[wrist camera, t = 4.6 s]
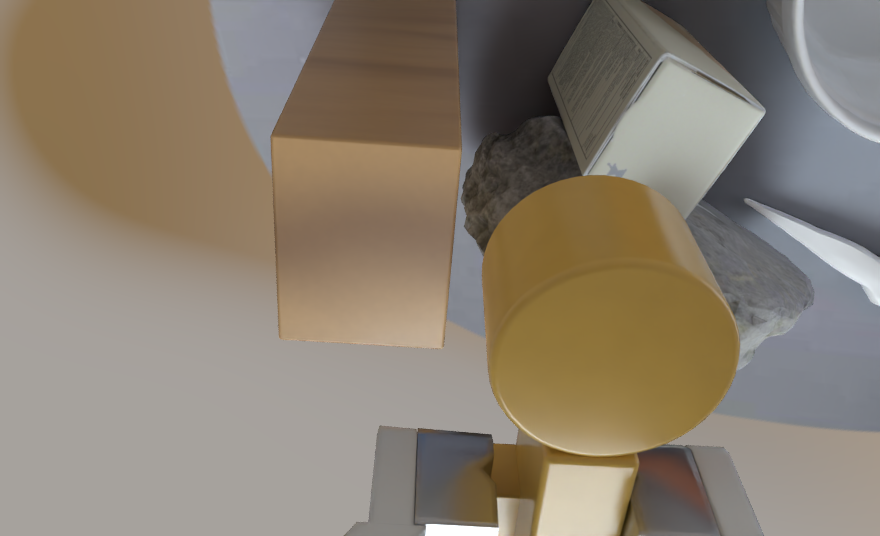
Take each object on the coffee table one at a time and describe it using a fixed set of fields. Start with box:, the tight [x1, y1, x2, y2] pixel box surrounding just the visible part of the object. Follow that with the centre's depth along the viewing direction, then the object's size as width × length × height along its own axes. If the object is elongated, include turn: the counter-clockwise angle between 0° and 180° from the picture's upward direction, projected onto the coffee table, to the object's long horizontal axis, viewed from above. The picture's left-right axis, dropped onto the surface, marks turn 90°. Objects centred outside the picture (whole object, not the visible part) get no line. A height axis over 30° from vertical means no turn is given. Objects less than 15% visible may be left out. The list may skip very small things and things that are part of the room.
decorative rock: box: [461, 116, 814, 371], centre depth 34 cm, size 16×7×15 cm, turn 57°
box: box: [548, 0, 766, 219], centre depth 32 cm, size 5×4×11 cm
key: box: [482, 175, 740, 536], centre depth 10 cm, size 6×3×2 cm, turn 176°
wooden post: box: [271, 0, 462, 349], centre depth 29 cm, size 6×4×19 cm
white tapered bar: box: [744, 198, 880, 306], centre depth 42 cm, size 15×3×2 cm, turn 61°
